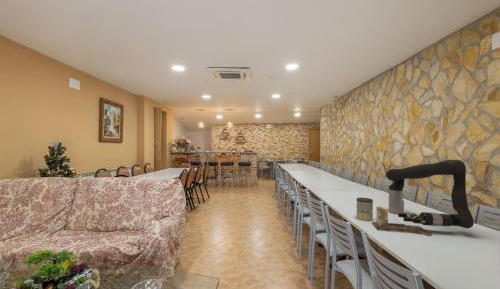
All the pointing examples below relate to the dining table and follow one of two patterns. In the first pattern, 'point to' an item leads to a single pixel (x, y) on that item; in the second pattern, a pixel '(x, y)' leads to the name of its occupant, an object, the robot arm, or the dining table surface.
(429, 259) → the dining table surface
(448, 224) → the robot arm
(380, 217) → the birch block
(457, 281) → the dining table surface
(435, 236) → the dining table surface
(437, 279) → the dining table surface
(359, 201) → the coffee can
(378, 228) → the board
